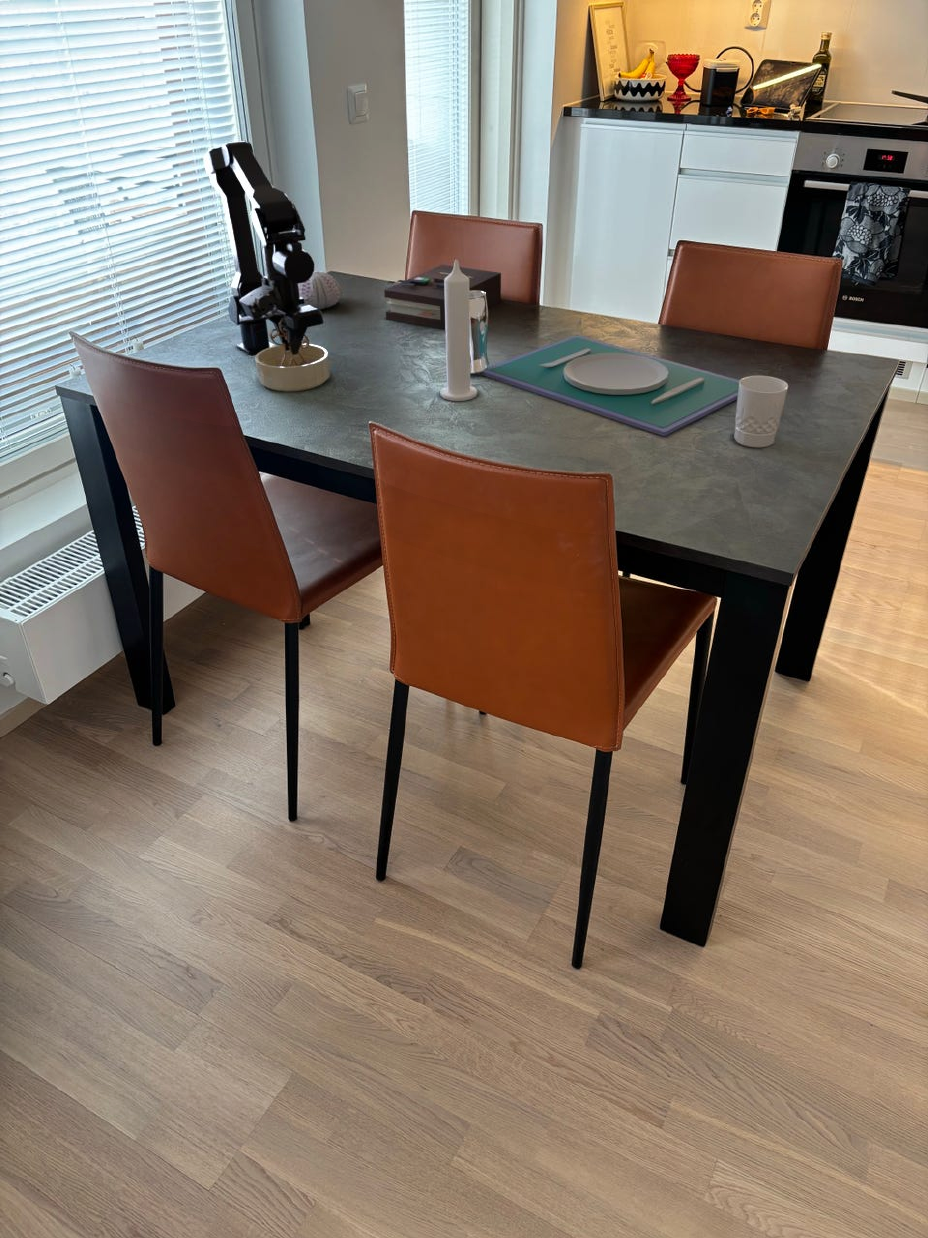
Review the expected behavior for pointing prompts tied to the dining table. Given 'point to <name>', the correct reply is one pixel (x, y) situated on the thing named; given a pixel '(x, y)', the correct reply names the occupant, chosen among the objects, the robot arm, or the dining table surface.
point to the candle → (457, 337)
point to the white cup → (759, 410)
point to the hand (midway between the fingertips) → (291, 352)
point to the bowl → (292, 368)
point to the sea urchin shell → (320, 291)
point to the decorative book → (435, 295)
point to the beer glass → (478, 332)
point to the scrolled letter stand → (289, 346)
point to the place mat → (619, 383)
